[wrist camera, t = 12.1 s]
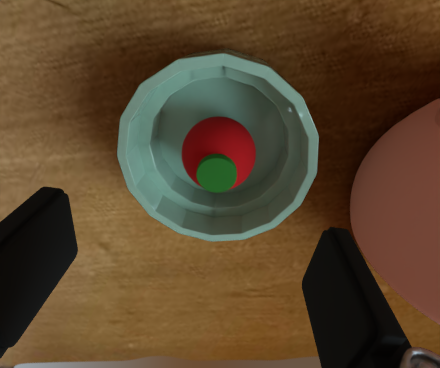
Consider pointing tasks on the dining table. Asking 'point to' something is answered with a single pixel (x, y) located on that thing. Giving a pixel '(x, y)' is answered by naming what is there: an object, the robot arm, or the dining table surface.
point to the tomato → (218, 154)
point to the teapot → (403, 208)
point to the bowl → (212, 107)
